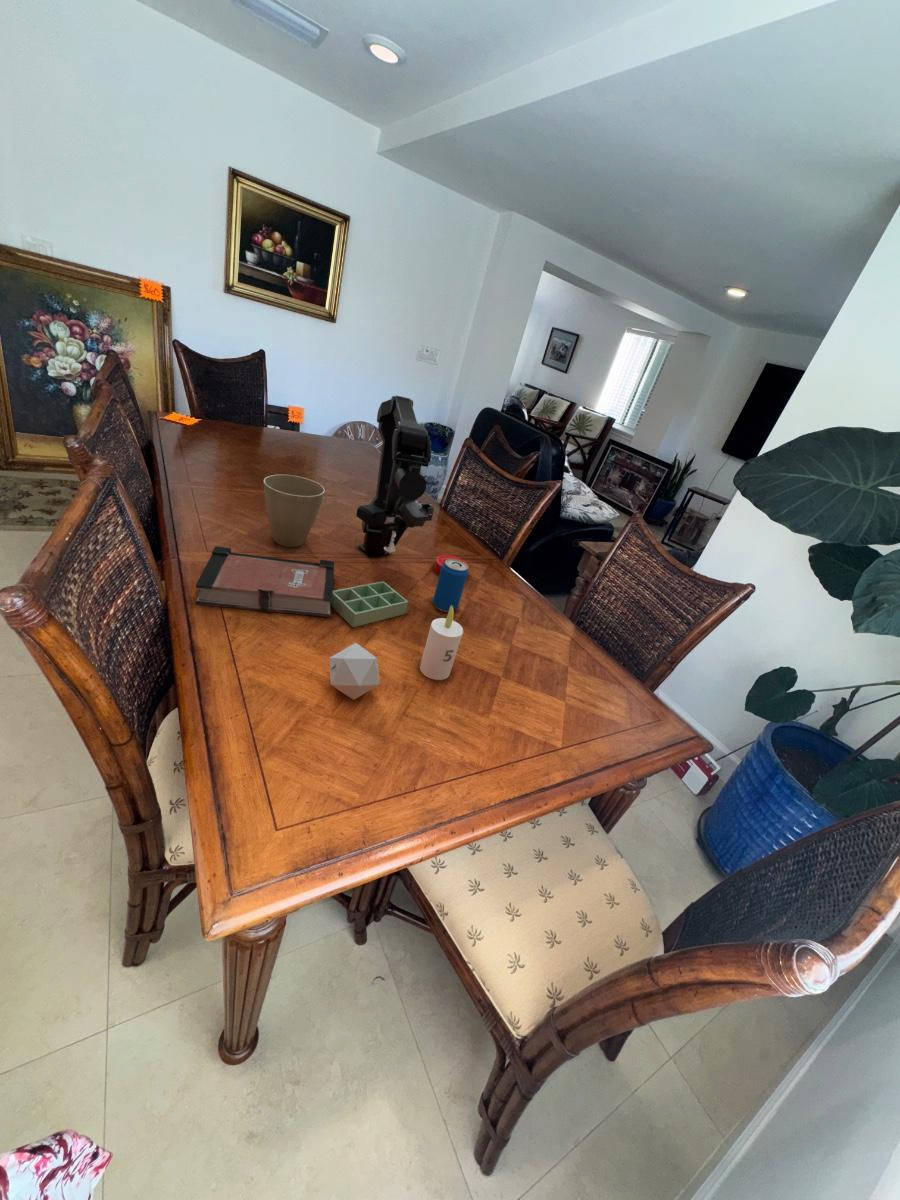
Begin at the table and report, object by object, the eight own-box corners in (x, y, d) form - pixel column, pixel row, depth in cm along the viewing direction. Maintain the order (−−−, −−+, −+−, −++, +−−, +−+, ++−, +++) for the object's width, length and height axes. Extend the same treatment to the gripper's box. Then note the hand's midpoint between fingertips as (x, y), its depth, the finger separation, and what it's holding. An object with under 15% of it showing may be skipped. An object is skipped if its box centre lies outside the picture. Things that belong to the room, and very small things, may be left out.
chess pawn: (395, 548, 118) (399, 530, 116) (394, 553, 116) (398, 534, 113) (384, 546, 118) (387, 527, 115) (383, 551, 115) (386, 532, 113)
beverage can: (460, 606, 123) (472, 564, 117) (452, 616, 117) (464, 573, 111) (437, 597, 124) (448, 555, 118) (428, 607, 118) (439, 564, 112)
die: (340, 668, 92) (317, 643, 84) (385, 656, 91) (366, 630, 83) (342, 710, 87) (319, 688, 79) (390, 697, 86) (371, 674, 78)
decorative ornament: (431, 562, 141) (433, 552, 139) (462, 566, 144) (465, 557, 142) (436, 578, 133) (439, 567, 131) (469, 582, 136) (472, 572, 134)
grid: (328, 604, 109) (330, 591, 107) (381, 593, 118) (383, 581, 117) (352, 627, 103) (355, 614, 101) (405, 613, 113) (408, 601, 111)
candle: (426, 682, 93) (444, 618, 86) (415, 660, 98) (431, 598, 91) (455, 679, 96) (475, 617, 89) (443, 659, 101) (461, 598, 94)
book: (195, 606, 96) (194, 584, 94) (215, 565, 111) (215, 546, 108) (329, 618, 103) (332, 599, 101) (331, 579, 118) (334, 561, 115)
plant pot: (274, 556, 121) (279, 496, 113) (250, 531, 129) (253, 474, 122) (328, 551, 131) (335, 495, 123) (302, 527, 139) (308, 474, 132)
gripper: (391, 499, 98) (378, 566, 105) (455, 495, 111) (439, 556, 118) (360, 479, 104) (350, 544, 111) (423, 478, 117) (410, 537, 124)
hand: (389, 546), depth 116 cm, fingers closed on chess pawn, 2 cm apart
